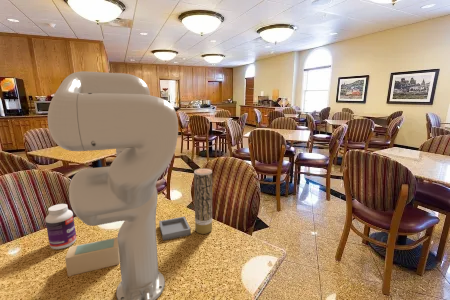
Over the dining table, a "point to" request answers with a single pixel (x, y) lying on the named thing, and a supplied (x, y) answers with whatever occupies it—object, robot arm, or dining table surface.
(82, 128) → the robot arm
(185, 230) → the tray
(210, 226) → the bark textured cylinder
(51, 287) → the dining table surface
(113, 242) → the beige rectangular block
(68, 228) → the pill bottle
